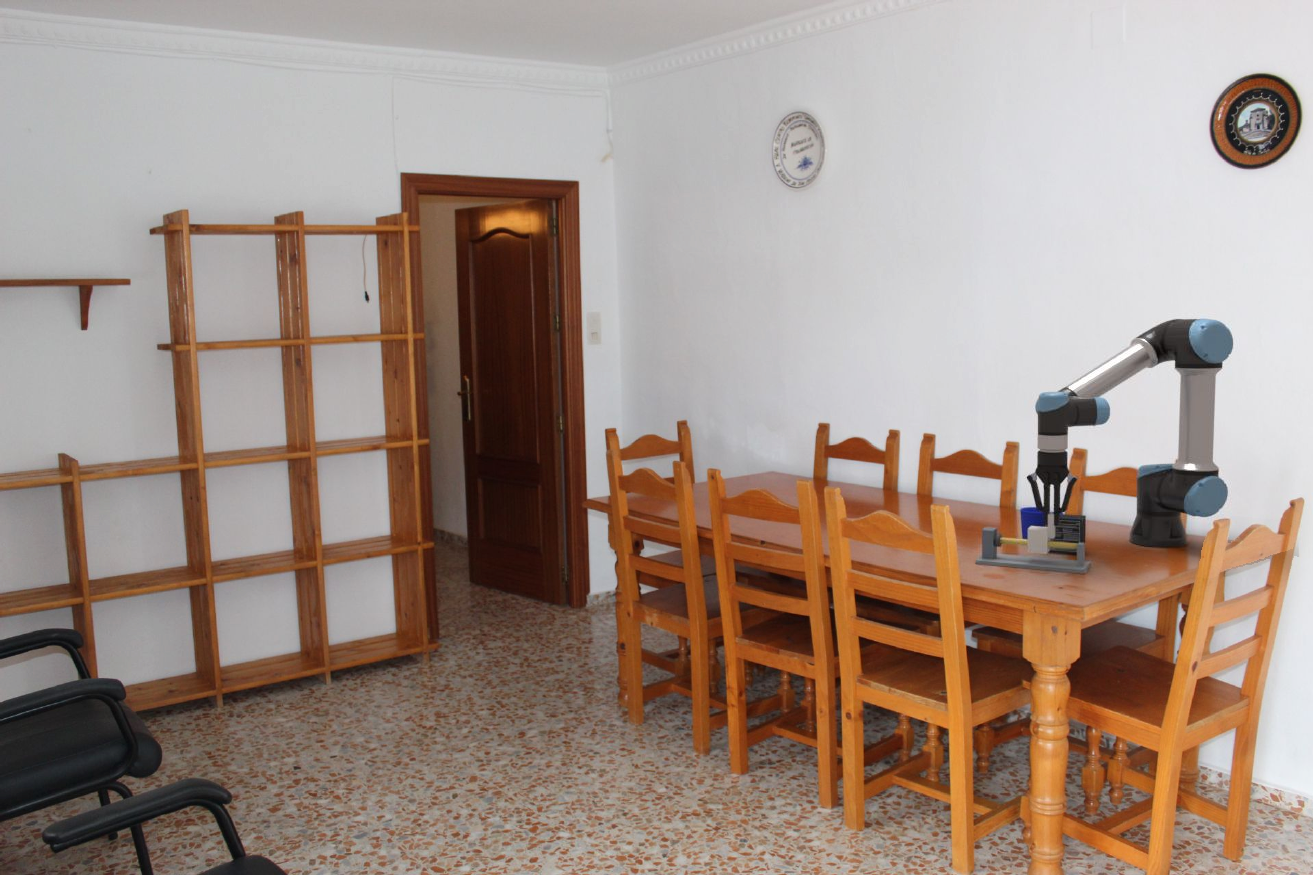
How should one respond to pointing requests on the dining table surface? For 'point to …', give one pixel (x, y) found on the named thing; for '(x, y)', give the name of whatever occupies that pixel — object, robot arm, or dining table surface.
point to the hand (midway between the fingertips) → (1051, 537)
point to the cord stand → (992, 558)
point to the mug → (1031, 519)
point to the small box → (1069, 532)
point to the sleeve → (1038, 540)
